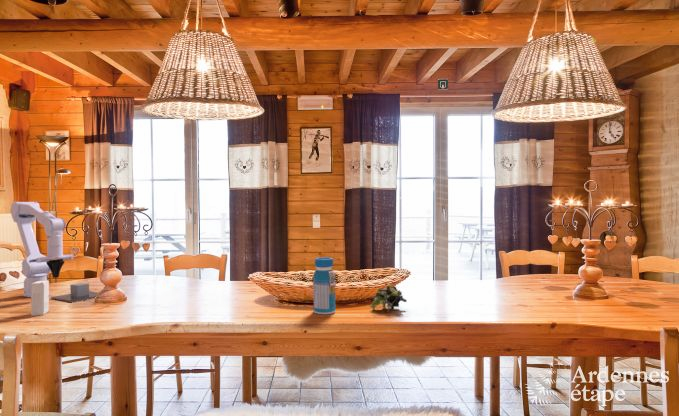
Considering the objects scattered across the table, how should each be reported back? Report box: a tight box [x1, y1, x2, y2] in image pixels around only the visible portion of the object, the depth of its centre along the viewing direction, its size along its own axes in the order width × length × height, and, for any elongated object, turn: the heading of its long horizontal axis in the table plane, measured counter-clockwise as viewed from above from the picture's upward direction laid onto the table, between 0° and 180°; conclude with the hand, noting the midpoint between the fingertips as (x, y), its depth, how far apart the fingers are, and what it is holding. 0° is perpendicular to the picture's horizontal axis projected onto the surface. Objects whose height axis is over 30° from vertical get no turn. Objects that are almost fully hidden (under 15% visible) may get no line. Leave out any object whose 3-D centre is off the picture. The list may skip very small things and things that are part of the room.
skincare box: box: [30, 279, 50, 317], centre depth 170 cm, size 6×4×12 cm
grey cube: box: [69, 282, 90, 297], centre depth 200 cm, size 5×5×5 cm
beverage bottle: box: [312, 256, 337, 315], centre depth 168 cm, size 8×8×20 cm
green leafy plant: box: [370, 284, 407, 314], centre depth 170 cm, size 11×11×12 cm
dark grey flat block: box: [50, 290, 100, 303], centre depth 201 cm, size 16×16×4 cm
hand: (55, 277), depth 197 cm, fingers closed
